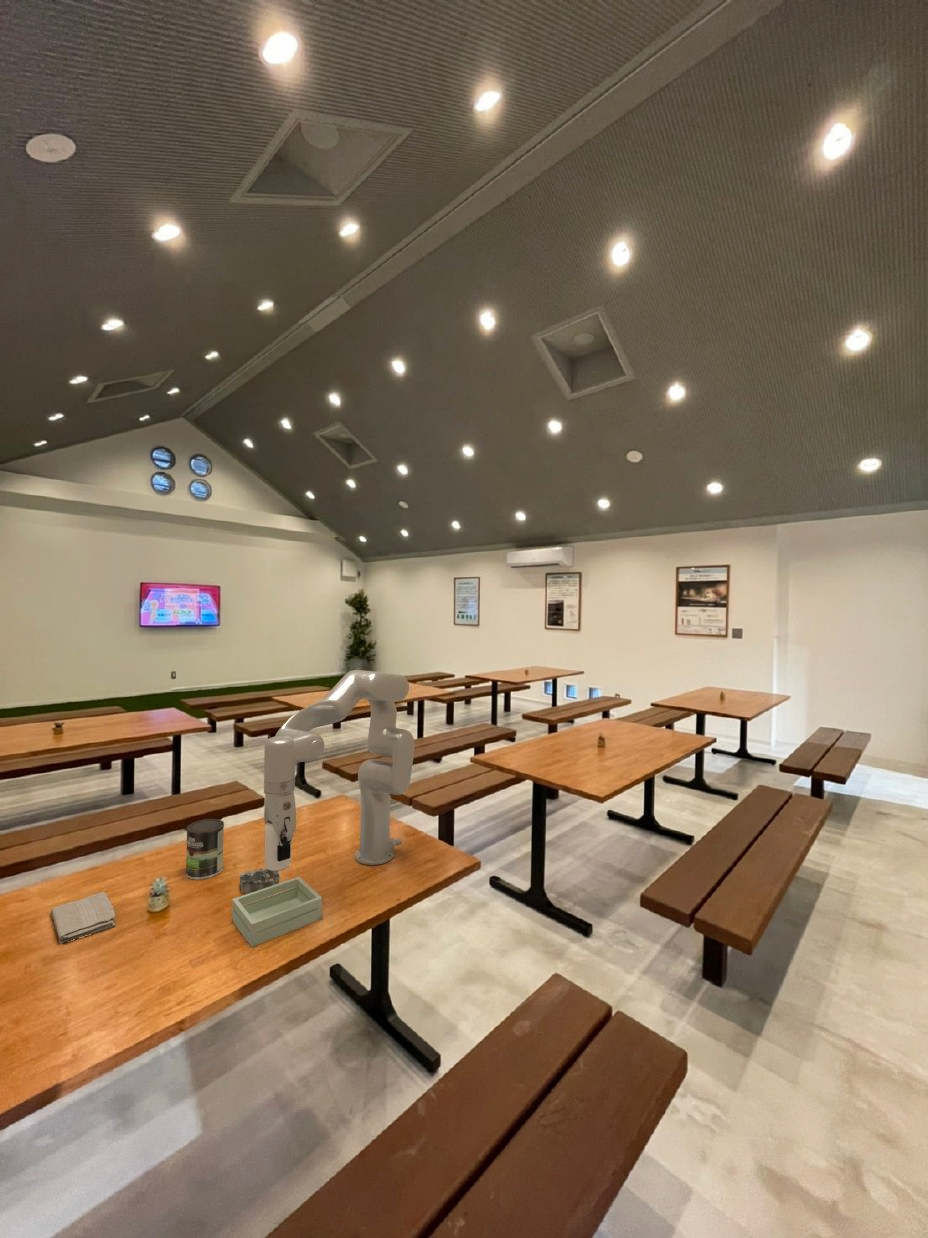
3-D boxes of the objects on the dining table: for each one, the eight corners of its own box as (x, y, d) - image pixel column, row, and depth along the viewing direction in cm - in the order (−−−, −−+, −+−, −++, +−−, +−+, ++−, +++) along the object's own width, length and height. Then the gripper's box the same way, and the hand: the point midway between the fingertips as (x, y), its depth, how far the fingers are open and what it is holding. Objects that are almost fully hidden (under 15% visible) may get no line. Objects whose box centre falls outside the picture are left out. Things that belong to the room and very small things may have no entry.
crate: (298, 896, 147) (299, 876, 147) (321, 918, 137) (322, 897, 136) (231, 920, 135) (232, 899, 135) (251, 947, 125) (251, 924, 124)
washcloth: (59, 949, 123) (59, 936, 123) (48, 916, 136) (48, 904, 136) (118, 928, 132) (119, 916, 132) (103, 899, 144) (103, 887, 144)
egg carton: (240, 896, 147) (240, 882, 147) (238, 883, 153) (238, 869, 153) (280, 888, 151) (280, 874, 151) (277, 876, 158) (277, 862, 158)
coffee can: (203, 883, 153) (203, 835, 153) (177, 875, 157) (178, 828, 156) (231, 867, 162) (231, 822, 162) (206, 860, 166) (207, 816, 166)
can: (268, 859, 139) (269, 814, 138) (293, 859, 139) (294, 814, 139) (261, 872, 132) (261, 825, 132) (287, 871, 133) (288, 824, 132)
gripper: (307, 791, 131) (306, 862, 132) (280, 774, 144) (279, 839, 145) (278, 798, 126) (277, 872, 127) (252, 779, 139) (251, 847, 140)
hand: (278, 854), depth 136 cm, fingers closed on can, 6 cm apart
